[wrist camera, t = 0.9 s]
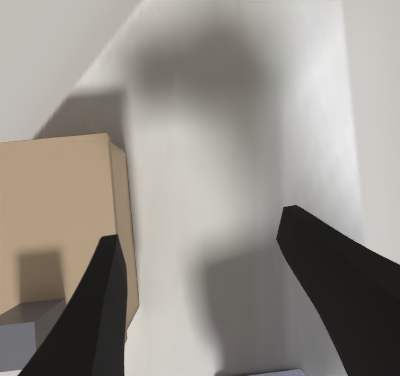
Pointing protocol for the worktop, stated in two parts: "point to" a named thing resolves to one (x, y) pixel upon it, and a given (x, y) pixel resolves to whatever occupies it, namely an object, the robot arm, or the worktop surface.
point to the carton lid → (48, 232)
